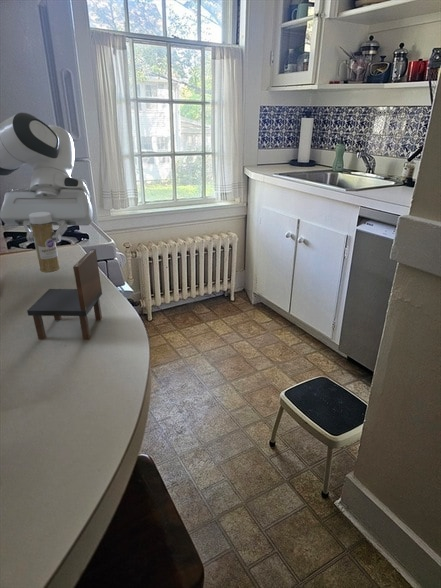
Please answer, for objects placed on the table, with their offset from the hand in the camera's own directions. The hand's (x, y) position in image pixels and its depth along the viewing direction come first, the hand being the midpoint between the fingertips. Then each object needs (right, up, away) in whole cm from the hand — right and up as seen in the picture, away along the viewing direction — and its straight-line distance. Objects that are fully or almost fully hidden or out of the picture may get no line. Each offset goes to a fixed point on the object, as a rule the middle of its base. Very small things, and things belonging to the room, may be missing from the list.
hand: (43, 240), depth 89 cm
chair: (+13, -19, -16) cm, 28 cm away
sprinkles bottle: (0, -7, +4) cm, 8 cm away
